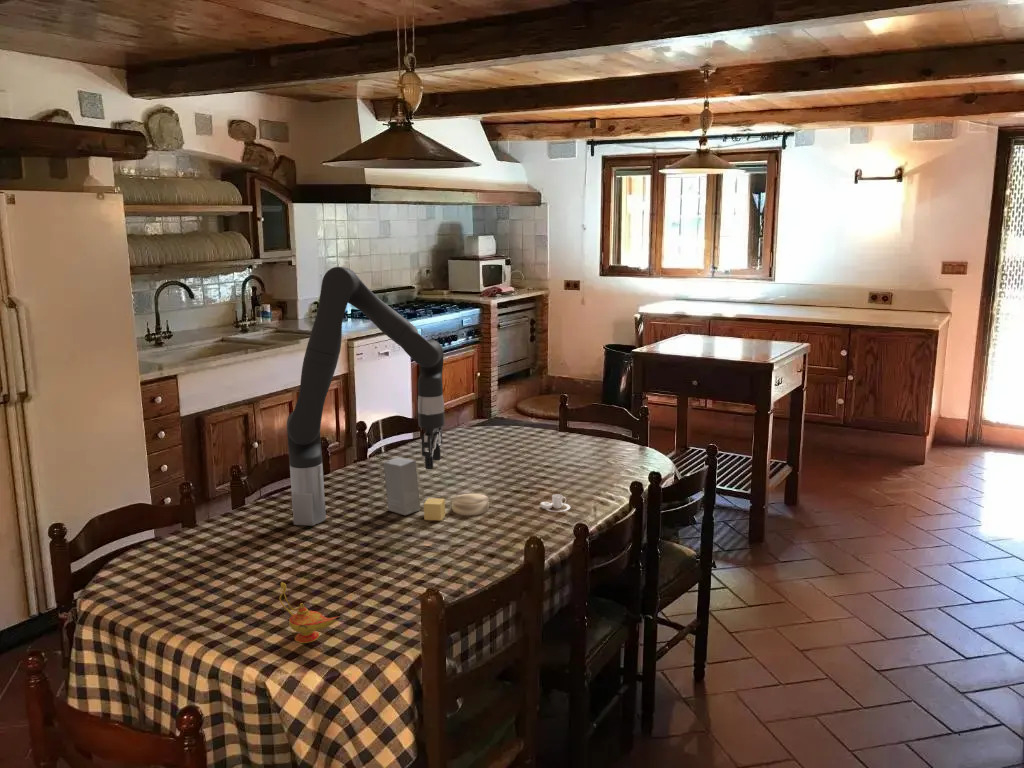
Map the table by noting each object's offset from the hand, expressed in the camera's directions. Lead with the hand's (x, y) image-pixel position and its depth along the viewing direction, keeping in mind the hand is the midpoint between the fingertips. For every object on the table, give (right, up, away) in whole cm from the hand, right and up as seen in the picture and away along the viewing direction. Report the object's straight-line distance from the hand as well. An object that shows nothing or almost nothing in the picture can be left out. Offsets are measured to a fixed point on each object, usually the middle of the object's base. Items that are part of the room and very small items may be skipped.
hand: (433, 464), depth 239 cm
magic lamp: (-19, -30, -66) cm, 75 cm away
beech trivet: (+10, -14, +9) cm, 20 cm away
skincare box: (-10, -15, +9) cm, 20 cm away
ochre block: (0, -16, +3) cm, 16 cm away
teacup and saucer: (+35, -14, +12) cm, 40 cm away
